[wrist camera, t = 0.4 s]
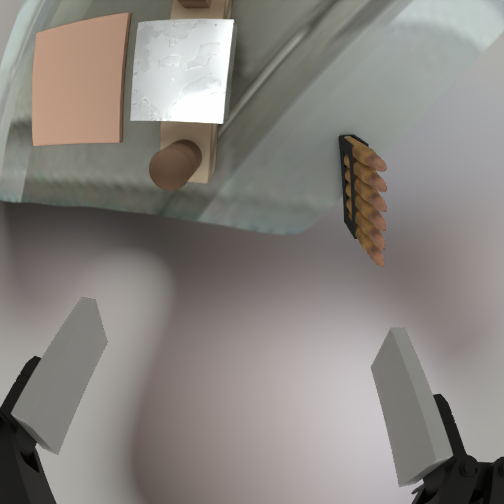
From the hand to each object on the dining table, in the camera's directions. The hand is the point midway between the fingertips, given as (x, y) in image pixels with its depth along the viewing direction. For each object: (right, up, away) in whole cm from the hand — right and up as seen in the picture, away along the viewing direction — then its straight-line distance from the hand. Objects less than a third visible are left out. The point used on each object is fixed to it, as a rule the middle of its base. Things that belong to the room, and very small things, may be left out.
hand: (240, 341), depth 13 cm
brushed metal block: (-5, +20, +12) cm, 24 cm away
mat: (-21, +25, +16) cm, 36 cm away
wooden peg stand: (-5, +23, +16) cm, 28 cm away
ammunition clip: (+12, +12, +21) cm, 27 cm away
